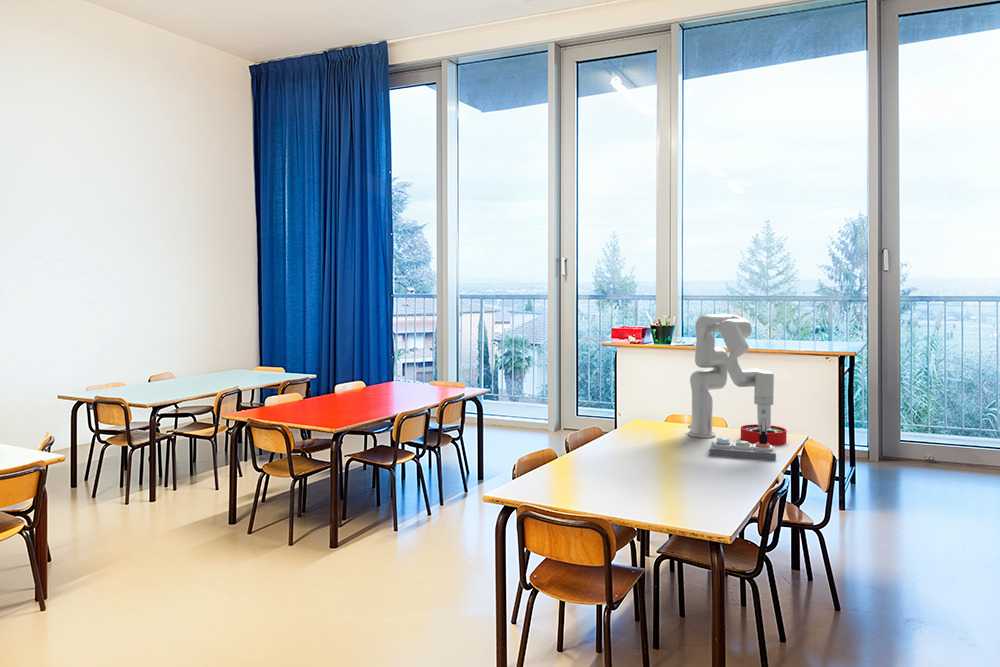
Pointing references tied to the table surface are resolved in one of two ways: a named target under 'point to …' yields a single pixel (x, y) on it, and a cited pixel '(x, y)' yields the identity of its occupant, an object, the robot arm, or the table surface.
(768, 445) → the brick button
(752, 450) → the console
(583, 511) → the table surface
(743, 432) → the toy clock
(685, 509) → the table surface
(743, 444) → the sage button
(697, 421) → the robot arm
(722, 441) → the blue grey button
